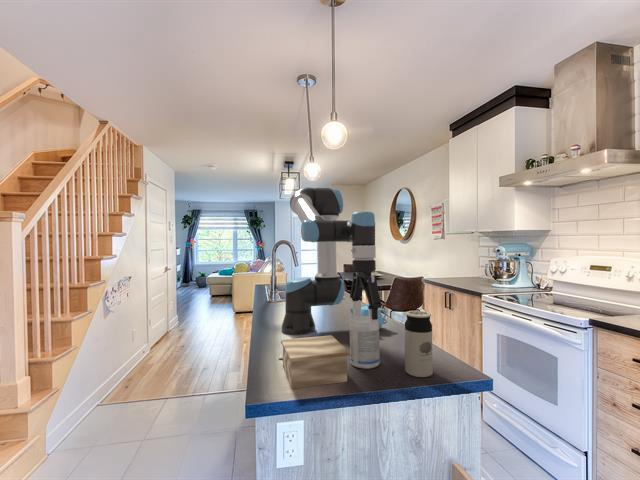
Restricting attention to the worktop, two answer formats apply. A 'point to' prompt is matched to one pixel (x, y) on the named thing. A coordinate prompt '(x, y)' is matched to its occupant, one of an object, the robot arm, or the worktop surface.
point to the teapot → (366, 313)
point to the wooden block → (314, 361)
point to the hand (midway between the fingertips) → (364, 324)
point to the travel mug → (418, 344)
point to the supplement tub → (363, 343)
